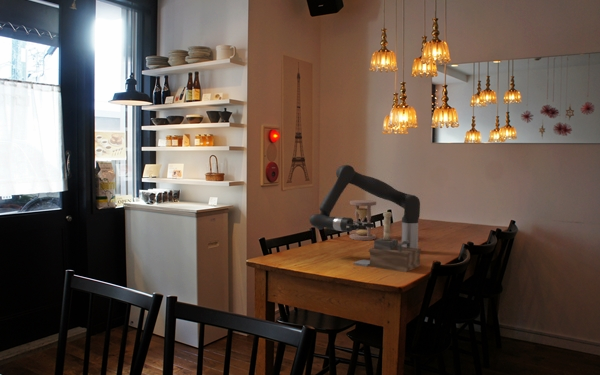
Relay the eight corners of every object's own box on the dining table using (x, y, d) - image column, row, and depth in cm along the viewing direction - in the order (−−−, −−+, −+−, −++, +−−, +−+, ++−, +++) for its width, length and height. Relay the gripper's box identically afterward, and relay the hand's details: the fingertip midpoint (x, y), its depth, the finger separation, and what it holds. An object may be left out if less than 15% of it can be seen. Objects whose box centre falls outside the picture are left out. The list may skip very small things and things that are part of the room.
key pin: (384, 246, 268) (385, 211, 266) (391, 247, 266) (393, 212, 263) (380, 247, 265) (381, 213, 262) (387, 248, 262) (389, 214, 260)
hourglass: (380, 239, 342) (380, 202, 340) (356, 241, 337) (356, 202, 335) (368, 235, 359) (369, 199, 357) (345, 236, 353) (345, 200, 352)
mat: (362, 261, 275) (362, 259, 275) (376, 263, 270) (376, 261, 270) (353, 264, 267) (353, 262, 267) (367, 266, 262) (367, 264, 262)
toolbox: (383, 260, 276) (384, 236, 275) (420, 266, 264) (421, 240, 263) (368, 266, 262) (368, 240, 261) (406, 272, 250) (407, 245, 249)
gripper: (336, 218, 274) (363, 221, 264) (350, 215, 285) (376, 218, 276) (336, 232, 274) (363, 235, 265) (350, 229, 286) (376, 232, 276)
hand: (369, 226), depth 270 cm, fingers open, 8 cm apart
